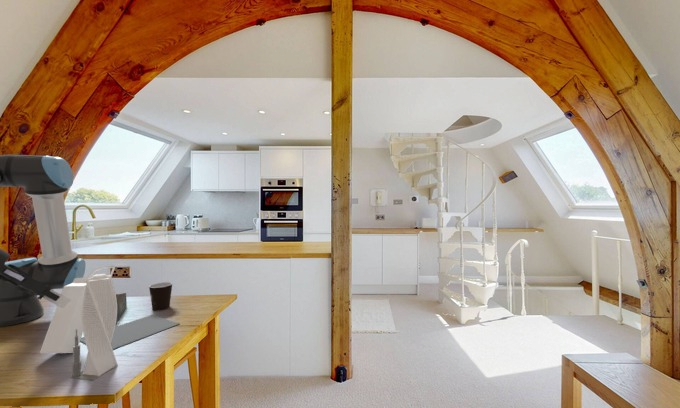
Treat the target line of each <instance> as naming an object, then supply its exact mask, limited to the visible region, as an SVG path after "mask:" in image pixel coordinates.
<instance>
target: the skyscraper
mask: <svg viewBox="0 0 680 408" xmlns="http://www.w3.org/2000/svg"><path fill="white" fill-rule="evenodd" d="M105 269H112V270H111V272H110V274H109V275H108V274H107V273H97V272H98V271H101V270H105ZM115 269H116V267H115V266H111V265H110V266H108V265H107V266H104V267H99V268H97V269H95V270H93V271H92V272H91V273H90V274H89V275H88V276H87V278H88V279H87V281H86V288H85V292H84V298H83V304H82V327H83V333H82V334H83V337H84V338H85V342H86V344H85V346H86V348H87V354H86V358H85V363H84V367H83V370H82V360H81V344H79V345H78V338H79V336H78V335H77V329H76V336H75V346H73V353H72V356H73V362H72V363H71V364H72V376H71V377H70V379H76V380H77V379H78V380H87V381H95V380H96V379H98V378H99V377H101V376H103V375H105V374H106V373H108V372H109V371H112V370H113V369H114V368H116V367H118V362H117V358H116V355H115V352H114V350H113V349H112V346H111V340H112V337H113V333H114V329H115V327H116V326H117V325H116V324H117V322H116V319H117V299H116V294H117V292H116V290H115V286H114V282H113V279H112V277H113V274H114V273H115V272H114V271H115ZM95 273H97V274H95Z"/></svg>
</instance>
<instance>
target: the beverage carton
mask: <svg viewBox="0 0 680 408" xmlns="http://www.w3.org/2000/svg"><path fill="white" fill-rule="evenodd" d="M116 299H117V319H116V323H117V321H118V322H119V320H120V318H121V317H122V314H124V311H125V309H126V308H127V306H128V305H127V304H128V303H127V292H125V293H118V294H117V293H116Z"/></svg>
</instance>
